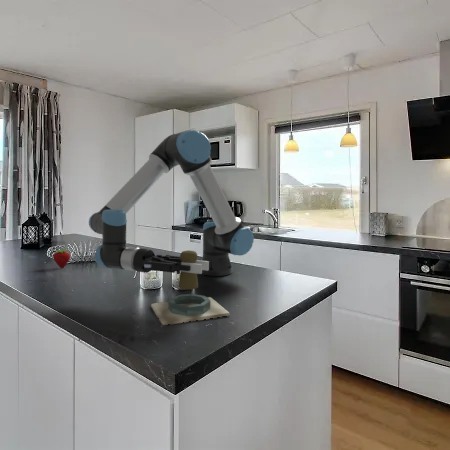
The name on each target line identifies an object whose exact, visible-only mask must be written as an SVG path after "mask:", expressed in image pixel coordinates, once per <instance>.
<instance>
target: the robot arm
mask: <svg viewBox="0 0 450 450" xmlns="http://www.w3.org/2000/svg"><path fill="white" fill-rule="evenodd" d="M211 150H212V146H211V143H210V140H209V138H208V137H207V136H206V134H205V133H202V132H201V131H199V130H196V129H188V130H184V131H180V132H177V133H173V134H170V135H168V136H167V137H165V138H164V139H163V140H162V141H161V142H160V143H159V144H158V145H157V146H156V148H155V149H154V150H152V151H151V153H150V154H149V155H148V160H147V161H146V162H145V163H144V164H143V165H142V166H141V167H140V168H139V169H138V170H137V172H135V174H134V175H132V177H131V178H130V179H129V180H128V181H127V182H126V183H125V184H124V185H123V186H122V187H121V188H120V189H119V190H118V192H117V193H115V194H114V196H113V197H112V198H111V199H110V200H109V201H108V202H107V203H106V204H105V205H104V206H103V207H102V208H101V209H100V210H99V211H98V212H94V213H93V214H91V216H90V217H89V219H88V225H89V228H90V230H91V231H93V232H94V233H96V234H99V235H102V244H100V245H99V246H97V247H96V249H95V252H94V260H95V263H96V264H97V265H98V266H99V267H104V268H107V269H114V270H115V269H116V270H125V271H129V272H130V273H133V272H138V273H145V274H147V273H150V272H151V271H154V272H155V271H156V272H165V273H172V274H174V273H176V275H180V272H189V273H197V275H204V276H208V277H209V276H210V277H211V276H212V277H221V276H228V275H231V274H233V265H232V262H231V258H230V256H229V255H233V256H238V257H239V256H240V257H241V256H244V255H247V254H248V253H249V252H250V251H251V249H252V247H253V243H254V242H255V241H254V239H255V238H254V237H255V235H254V234H253V231H252V230H251V229H250V228H248V227H246V226H244V224H243V221H242V220H241V218H240V217H237V216H236V215H235V213H234V212H233V210H232V208H231V206H230V203H229V201H228V199H227V197H226V196H225V193H224V191H223V189H222V187H221V186H220V183H219V181H218V179H217V177H216V175H215V173H214V171H213V169H212V167H211V163H212V158H211ZM177 166H179V167H180V168H181V171H182V172H183V173H184V175H187V176H189V177H190V179H191V181H192V183H193V184H194V186H195V188H196V190H197V192H198V194H199V196H200V198H201V200H202V201H203V204H204V206H205V207H206V210H207V211H208V213H209V216H210V218H211V219H212V221H206V222H204V224H203V227H202V257H201V260H199V259H197V260H196V264H195V263H185V262H182V261H181V259H180V255H179V256H178V255H170V254H165V255H162V254H155V252H154V251H153V250H152V249H150V248H140V247H133V246H127V222H128V220H127V213H129V211H131V209H132V208H133V207H134V206H135V204H137V203H138V202H139V201H140V200H141V198H142V197H143V196H144V195H146V193H147V192H148V191H149V190H150V189H151V187H153V186H154V184H156V182H157V181H159V179H160V178H162V176H163V175H164V174H168V173H169V172H170V171H171V170H172V169H173V168H175V167H177Z"/></svg>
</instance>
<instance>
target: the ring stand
mask: <svg viewBox="0 0 450 450" xmlns="http://www.w3.org/2000/svg"><path fill="white" fill-rule="evenodd" d="M150 306H151V307H150V308H151V309H152V310H153V312H154V314H155V315H156V317H157V318H159V319H158V320H159V323H161V325H162V326H167V325H168V324H170V325H175V324H176V325H177V324H183V322H184V323H190V322H189V321H191V322H197V321H196V320H198V321H203V320H204V319H206V320H211V319H210V318H213V319H218V318H217V317H220V318H223V317H222V316H227V317H229V316H228V315H230V312H229V311H228V310H227V309H226V308H224V307H223V306H222V305H221V304H220V303H218V302H217V301H216V300H215V299H213V298H212V297H211V296H205V295H204V294H203V295H202V294H195V293H187V294H186V293H185V294H177V295H174V296H173V297H171V298H169V299H168V300H167V301H165V302H163V301H162V302H156V303H154V302H153V303H151V304H150ZM230 316H231V315H230ZM204 321H205V320H204Z"/></svg>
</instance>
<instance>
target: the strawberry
mask: <svg viewBox="0 0 450 450" xmlns="http://www.w3.org/2000/svg"><path fill="white" fill-rule="evenodd" d="M61 249H62V250H57V251H56V252H55V253H54V254H53V260H54V262H55V264H56V265H57V266H58V267H59V268H60V269H64V268H65V267H66V266H67V264H68V263H69V261H70V260H71V255H70V253H69V251H67V249H64V248H61Z"/></svg>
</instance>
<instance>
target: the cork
mask: <svg viewBox="0 0 450 450" xmlns="http://www.w3.org/2000/svg"><path fill="white" fill-rule="evenodd" d="M179 257H180V259H181V261H182V262H185V263H195V264H196V260H198V254H197V252H196V251H194V250H182V251H181V253H180V254H179ZM198 281H199V280H198V274H197V273H189V272H181V271H180V274H179V279H178V286H177V287H178V288H179V289H181V290H195V289H197V288H199V282H198Z"/></svg>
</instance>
